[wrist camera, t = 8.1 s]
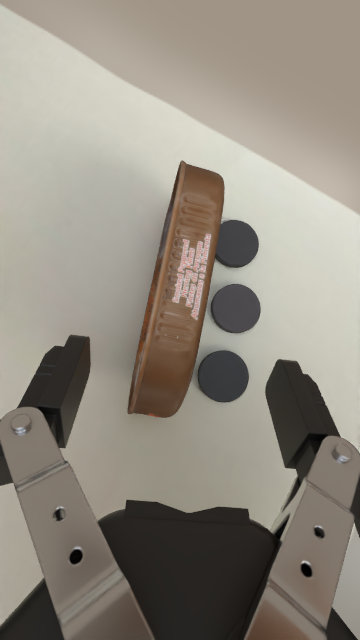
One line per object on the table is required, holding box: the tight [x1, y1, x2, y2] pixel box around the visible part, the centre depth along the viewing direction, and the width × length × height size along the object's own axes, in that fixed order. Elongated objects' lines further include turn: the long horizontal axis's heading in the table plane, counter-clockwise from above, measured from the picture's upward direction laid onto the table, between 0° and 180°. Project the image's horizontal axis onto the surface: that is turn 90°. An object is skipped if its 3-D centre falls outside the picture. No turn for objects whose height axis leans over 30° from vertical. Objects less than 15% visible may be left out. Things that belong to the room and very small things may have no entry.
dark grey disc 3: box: [198, 351, 249, 402], centre depth 22 cm, size 4×4×1 cm
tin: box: [127, 161, 224, 418], centre depth 19 cm, size 15×3×8 cm, turn 169°
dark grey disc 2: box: [211, 284, 260, 333], centre depth 23 cm, size 4×4×1 cm
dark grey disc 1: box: [215, 220, 259, 267], centre depth 24 cm, size 4×4×1 cm
